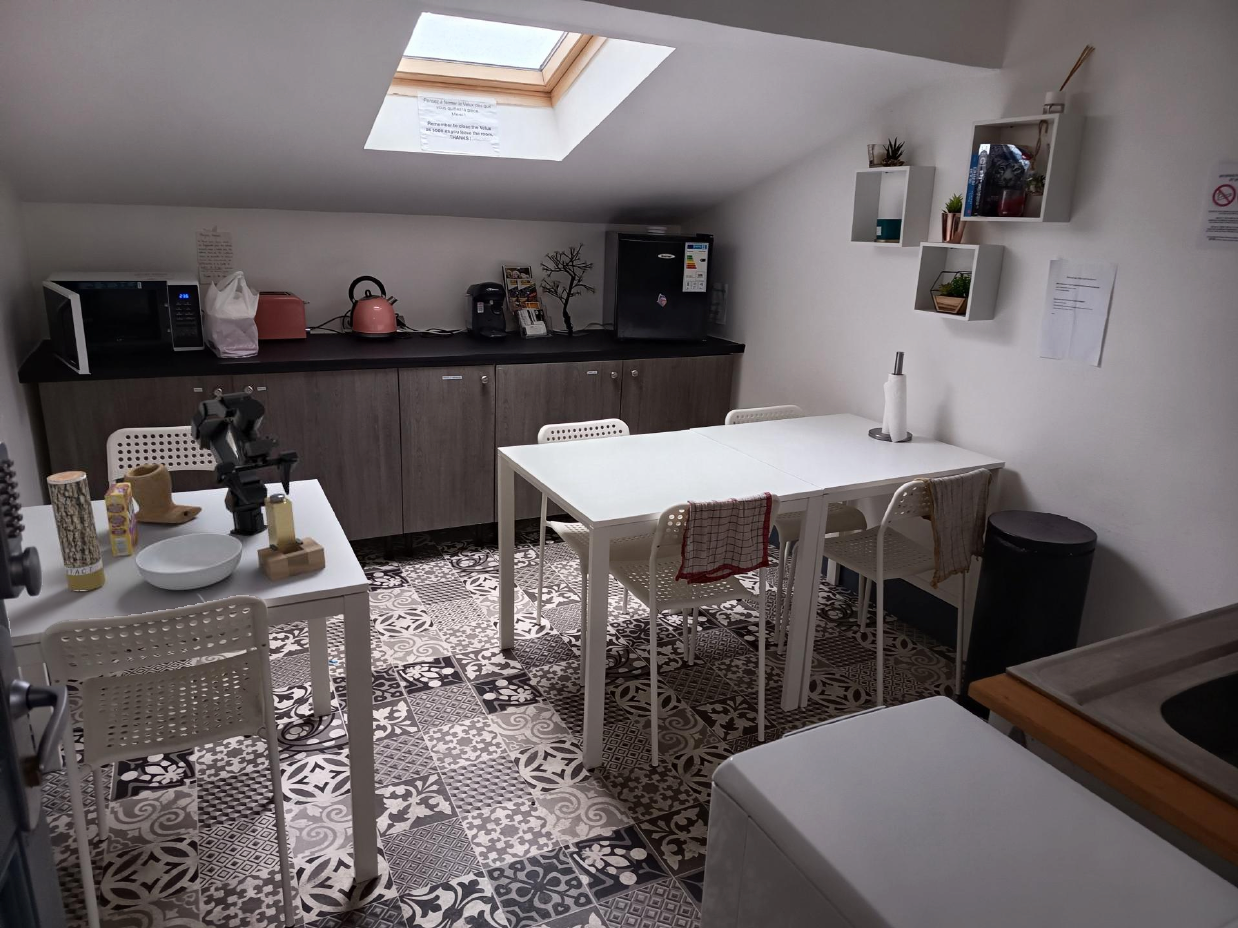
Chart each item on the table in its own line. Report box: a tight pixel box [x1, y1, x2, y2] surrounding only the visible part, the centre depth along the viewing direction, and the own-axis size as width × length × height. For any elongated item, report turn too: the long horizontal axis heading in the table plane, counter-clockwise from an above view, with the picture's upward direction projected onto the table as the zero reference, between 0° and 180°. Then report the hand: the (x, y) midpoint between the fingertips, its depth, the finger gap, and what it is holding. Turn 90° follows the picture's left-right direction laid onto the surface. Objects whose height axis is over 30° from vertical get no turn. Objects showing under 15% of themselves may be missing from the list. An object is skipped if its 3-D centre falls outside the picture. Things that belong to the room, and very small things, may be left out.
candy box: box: [104, 482, 139, 557], centre depth 197 cm, size 9×4×15 cm, turn 20°
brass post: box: [264, 493, 297, 555], centre depth 192 cm, size 6×4×16 cm, turn 41°
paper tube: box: [46, 470, 106, 591], centre depth 177 cm, size 7×7×25 cm
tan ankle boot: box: [123, 462, 203, 524], centre depth 214 cm, size 15×12×15 cm
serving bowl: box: [135, 532, 243, 591], centre depth 184 cm, size 21×21×7 cm
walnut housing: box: [257, 536, 327, 582], centre depth 190 cm, size 8×12×6 cm, turn 131°
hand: (268, 498), depth 195 cm, fingers open, 9 cm apart
